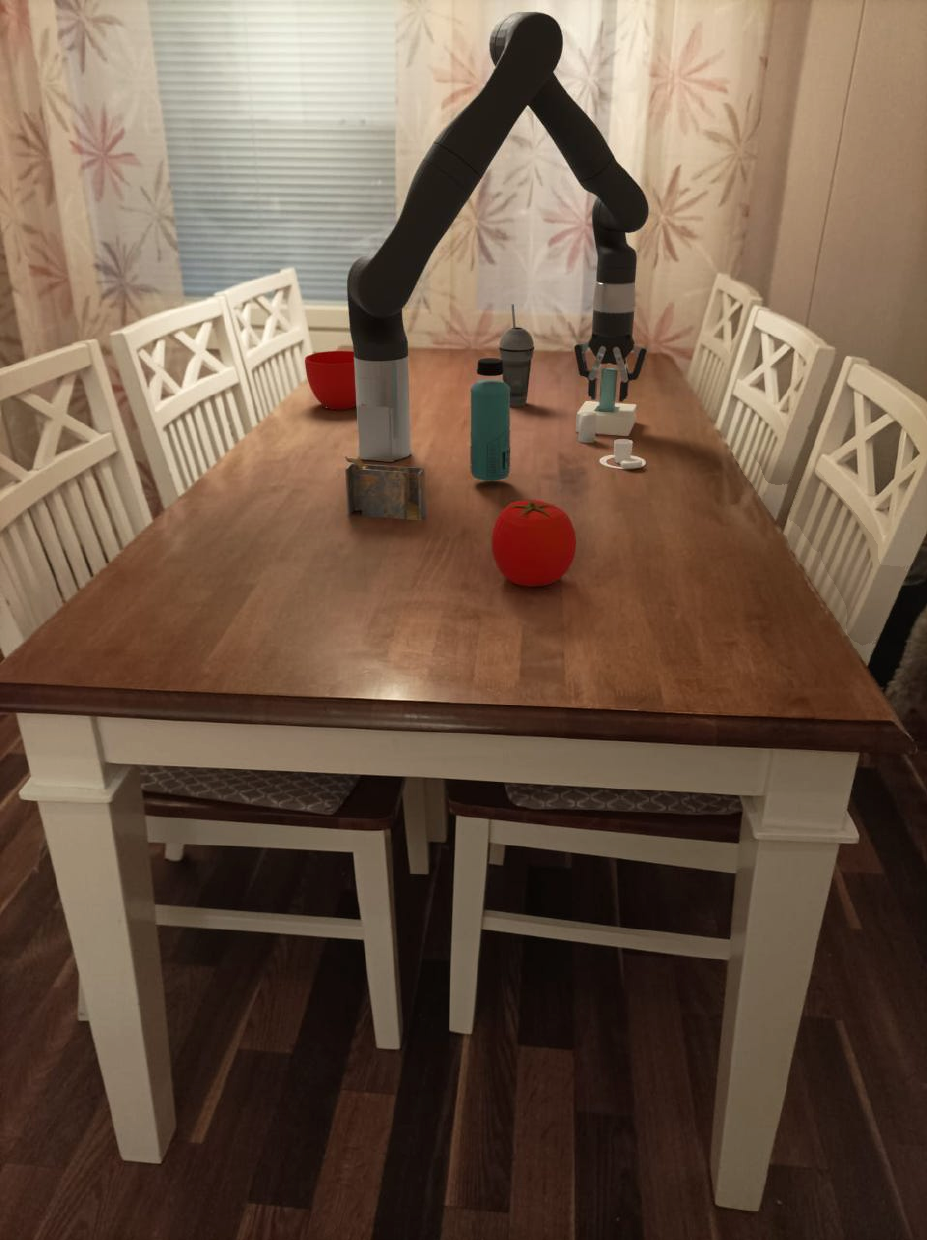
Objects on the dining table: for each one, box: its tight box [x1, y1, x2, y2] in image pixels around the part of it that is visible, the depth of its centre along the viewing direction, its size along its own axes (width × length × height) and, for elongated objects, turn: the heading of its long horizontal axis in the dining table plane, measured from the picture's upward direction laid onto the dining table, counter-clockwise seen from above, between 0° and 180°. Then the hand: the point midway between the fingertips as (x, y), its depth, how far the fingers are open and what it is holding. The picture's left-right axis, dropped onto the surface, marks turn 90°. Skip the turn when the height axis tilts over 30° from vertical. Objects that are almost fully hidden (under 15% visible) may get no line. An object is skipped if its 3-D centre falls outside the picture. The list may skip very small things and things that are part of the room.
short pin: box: [578, 412, 596, 444], centre depth 177 cm, size 3×3×5 cm
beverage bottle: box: [469, 357, 512, 482], centre depth 152 cm, size 6×7×20 cm
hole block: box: [575, 400, 637, 437], centre depth 185 cm, size 10×10×4 cm
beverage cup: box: [498, 304, 535, 408], centre depth 197 cm, size 7×7×20 cm
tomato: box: [491, 499, 577, 588], centre depth 121 cm, size 10×11×11 cm
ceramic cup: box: [304, 350, 357, 411], centre depth 198 cm, size 13×17×10 cm
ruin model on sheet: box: [344, 455, 426, 521], centre depth 142 cm, size 11×3×10 cm, turn 78°
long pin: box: [598, 367, 619, 413], centre depth 183 cm, size 3×3×11 cm
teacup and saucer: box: [599, 438, 647, 470], centre depth 166 cm, size 9×8×4 cm
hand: (607, 399), depth 183 cm, fingers open, 4 cm apart
